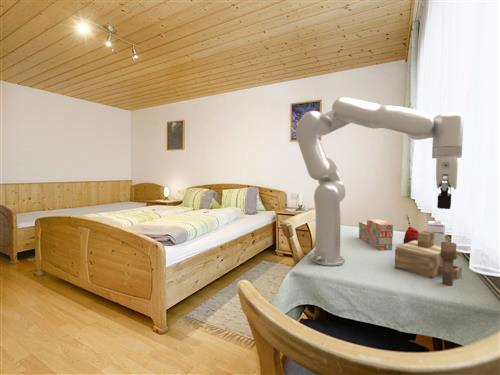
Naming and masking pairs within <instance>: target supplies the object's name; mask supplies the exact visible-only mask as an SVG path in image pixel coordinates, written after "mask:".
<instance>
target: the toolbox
mask: <svg viewBox="0 0 500 375" xmlns="http://www.w3.org/2000/svg"><path fill="white" fill-rule="evenodd" d="M394 250H395V251H394V253H395V254H394V269H397V270H400V271H404V272H407V273H410V274H415V275H418V276H422V277H425V278H429V279H434V278H436V277H437V276H443V258H442V257H441V255H440V256H438V257H436V258H431V257H426V256H422V255H418V254H413V253H409V252H404V251H400V250H396V248H395V249H394ZM462 273H463V267H462V266H458V265H454V264H453V280H458V279H460V278H461V277H462V275H463V274H462Z"/></svg>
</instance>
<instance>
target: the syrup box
mask: <svg viewBox="0 0 500 375" xmlns="http://www.w3.org/2000/svg"><path fill="white" fill-rule="evenodd" d="M445 229H446V225H445V222H444V221H439V220H438V221H437V220H428V221H427V229H426V231H430V232H435V236H434V244H439V245H441V242H446V240H445V239H446V234H445V231H446V230H445Z"/></svg>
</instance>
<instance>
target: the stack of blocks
mask: <svg viewBox="0 0 500 375" xmlns="http://www.w3.org/2000/svg"><path fill="white" fill-rule="evenodd" d="M358 227H359V228H358V239H359V240H361V241H362V242H363V243H366V244H368V245H369V246H370V247H372V248H374V249H375V250H377V251H378V252H379V251H393V238H394V235H393V234H394V231H393V230H394V224H393V223H390V222H388V221H386V220H382V219H379V218H375V219H374V218H373V219H372V218H371V219H369V218H368V219H366V221H359V222H358Z"/></svg>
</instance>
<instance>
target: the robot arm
mask: <svg viewBox="0 0 500 375" xmlns="http://www.w3.org/2000/svg"><path fill="white" fill-rule="evenodd" d="M349 124H355V125H358V126H362V127H365V128H368V129H374V130H375V129H385V130H391V131H395V132H399V133H402V134H405V135H407V136H408V137H409V138H410V139H411V140H416V141H417V140H418V141H420V140H425V139H431V138H432V148H431V158H432V159H436V160H435V161H436V162H435V163H436V164H435V165H436V166H435V176H436V178H435V181H436V182H435V184H436V188H437V189H438V195H437V209H444V210H450V209H451V206H452V193H451V191H452V188H453V190H456V189H457V185H458V158H462V157H463V156H462V155H463V142H464V141H463V136H464V114H462V113H461V112H457V111H454V112H443V113H440V114H437V115H436V116H434V117H433V116H432V115H431V114H429V113H428V112H426V111H421V110H417V109H413V108H408V107H404V106H398V105H390V104H389V105H388V104H380V103H376V102H371V101H367V100H363V99H358V98H354V97H349V96H340V97H338V98H337V99H335V100H334V102H333V104H332V106H331V110H330V111H328V112H326V113H322V112H320V111H318V110H309V111H307V112H305V113H304V114H303V115H302V116H301V117H300V119H299V121H298V122H297V125H296V130H295V133H296V141H297V144H298V146H299V149H300V153H301V156H302V158H303V161H304V164H305V167H306V170H307V173H308V176H310V178H311V179H313V180H316V181H318V186H317V187H316V188H315V190H314V193H313V194H314V195H313V200H314V208H315V209H314V210H315V240H314V241H315V248H314V249H313V253H311V254H308V255H307V259H308V260H309V261H310V260H311V261H312V262H314V263H315V264H318V265H321V266H322V265H323V266H327V267H328V266H329V267H331V266H333V267H334V266H340V265H343V264H345V258H344V257H343V256H342V255H341V205H340V204H341V202H342V201H343V200H344V199H345V196H346V187H345V185H344V182H343V179H342V177H341V174H340V173H339V169H338V166H337V165H336V163H335V162H334V160H332V159H330V157H327V156H326V152H325V151H324V148H323V147H324V146H323V145H322V143H321V141H320V139H319V136H320V137H321V136H325V135H328V134H330V133H332V132H335V131H338V130H340V129H341V128H344V127H345V126H347V125H349Z"/></svg>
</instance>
